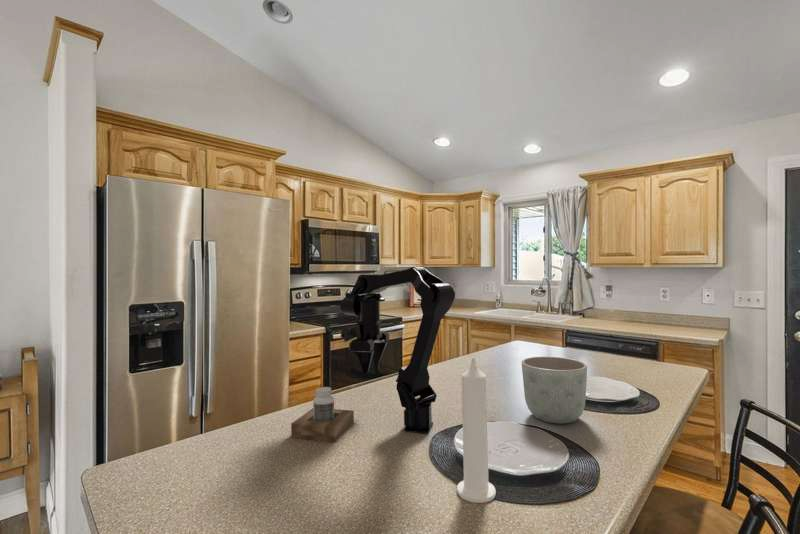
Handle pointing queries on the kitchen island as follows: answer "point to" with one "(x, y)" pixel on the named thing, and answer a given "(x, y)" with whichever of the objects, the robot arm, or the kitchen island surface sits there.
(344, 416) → the socket block
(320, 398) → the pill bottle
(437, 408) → the kitchen island surface
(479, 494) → the candle
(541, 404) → the planter
